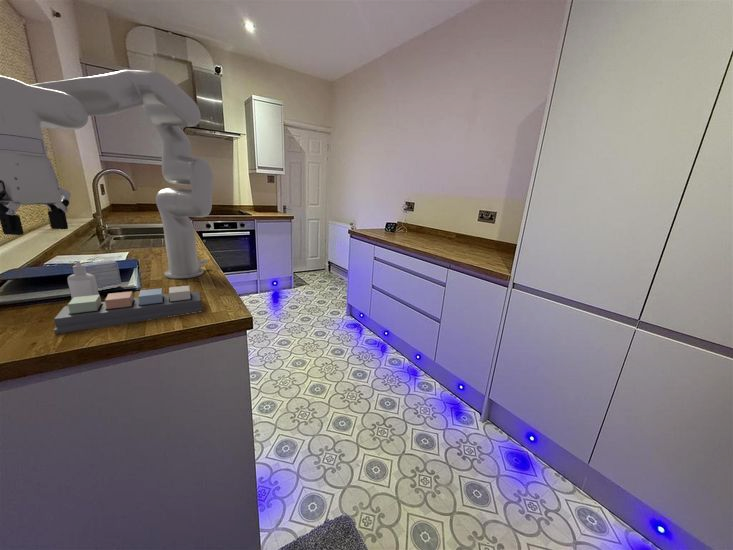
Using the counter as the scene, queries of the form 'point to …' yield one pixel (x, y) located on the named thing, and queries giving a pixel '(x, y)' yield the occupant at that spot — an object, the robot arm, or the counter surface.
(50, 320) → the counter surface
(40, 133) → the robot arm
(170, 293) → the key
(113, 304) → the key
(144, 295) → the key
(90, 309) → the key
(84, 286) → the eye dropper bottle
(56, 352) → the counter surface
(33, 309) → the counter surface
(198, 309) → the keypad housing
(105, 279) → the medicine box
